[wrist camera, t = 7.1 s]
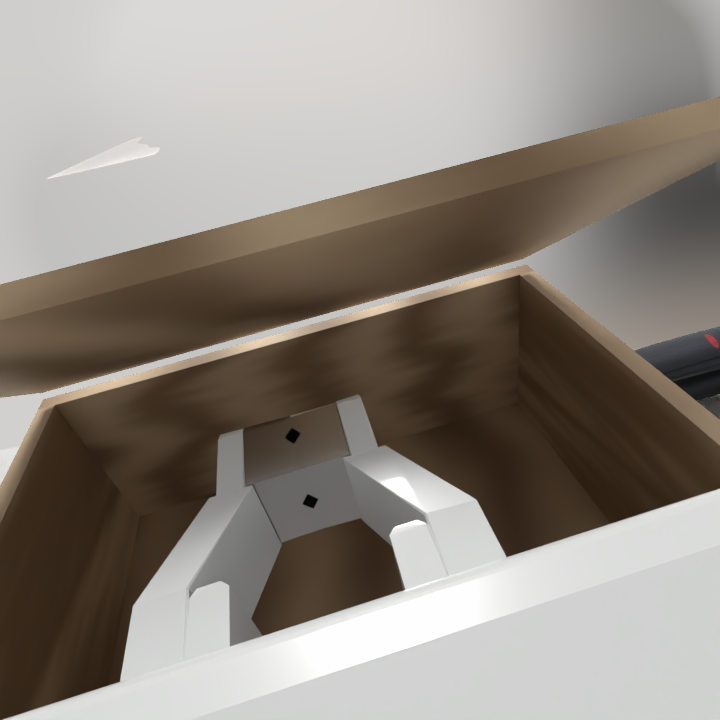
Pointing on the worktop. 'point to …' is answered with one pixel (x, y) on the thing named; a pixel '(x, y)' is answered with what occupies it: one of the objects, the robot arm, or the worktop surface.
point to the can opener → (689, 362)
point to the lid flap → (337, 251)
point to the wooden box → (391, 428)
